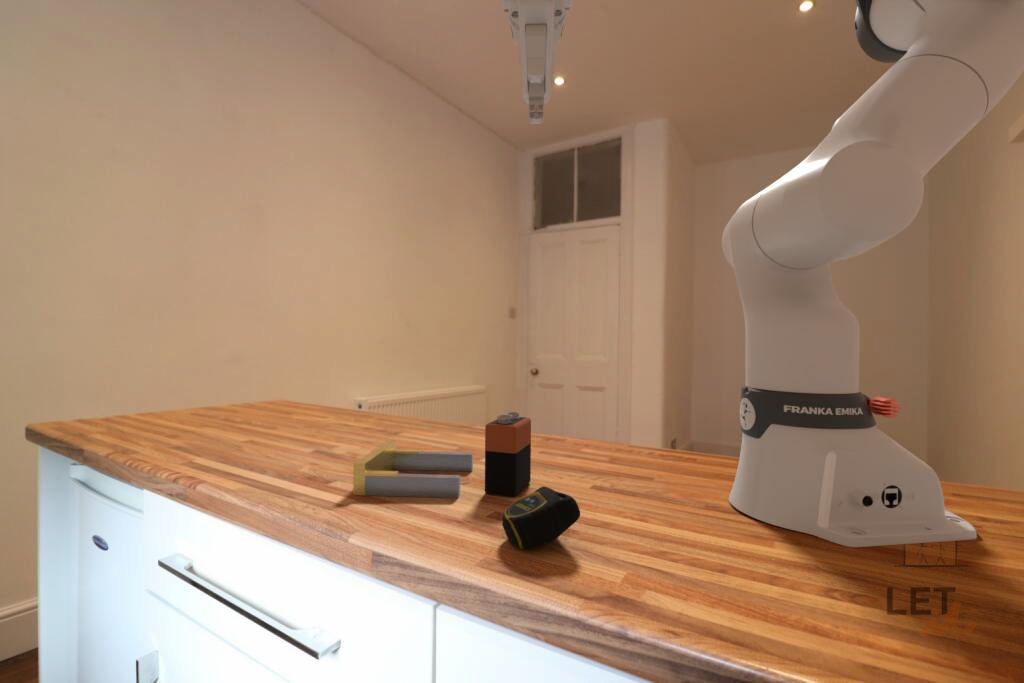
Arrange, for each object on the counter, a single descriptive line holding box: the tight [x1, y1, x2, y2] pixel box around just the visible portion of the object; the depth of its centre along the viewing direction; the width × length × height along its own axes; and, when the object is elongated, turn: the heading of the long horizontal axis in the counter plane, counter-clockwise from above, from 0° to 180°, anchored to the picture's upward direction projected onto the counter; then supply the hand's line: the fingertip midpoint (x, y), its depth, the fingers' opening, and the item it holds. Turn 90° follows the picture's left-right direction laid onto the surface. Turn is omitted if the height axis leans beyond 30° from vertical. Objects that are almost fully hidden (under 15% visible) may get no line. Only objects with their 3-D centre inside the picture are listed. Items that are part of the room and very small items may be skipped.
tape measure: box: [501, 486, 581, 550], centre depth 44 cm, size 7×7×4 cm
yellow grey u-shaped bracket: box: [352, 440, 474, 499], centre depth 63 cm, size 14×12×4 cm
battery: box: [484, 411, 532, 498], centre depth 60 cm, size 4×7×10 cm, turn 160°
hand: (536, 102), depth 53 cm, fingers open, 8 cm apart
